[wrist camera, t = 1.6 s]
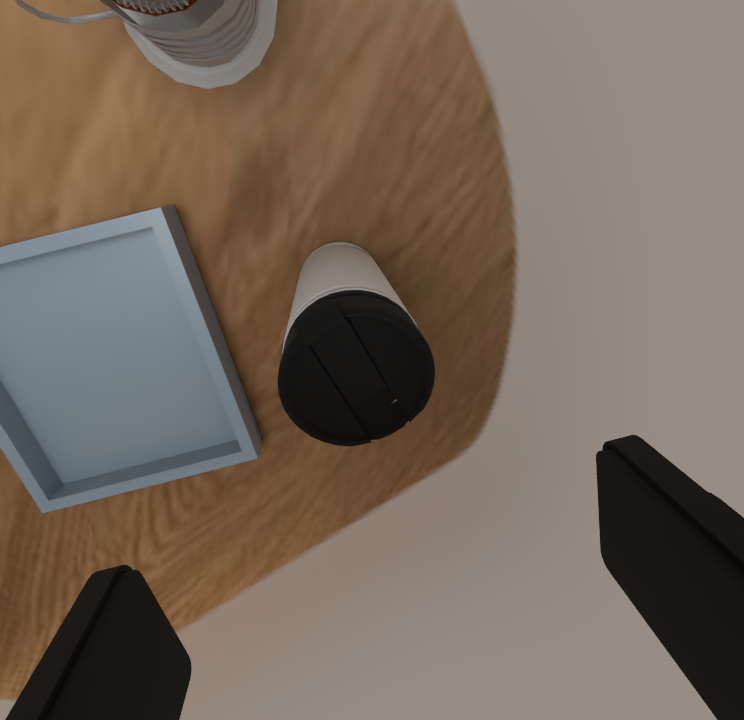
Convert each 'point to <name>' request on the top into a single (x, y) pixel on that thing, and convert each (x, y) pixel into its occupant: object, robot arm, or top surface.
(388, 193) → the top surface
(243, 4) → the french press
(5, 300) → the tray
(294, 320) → the travel mug
